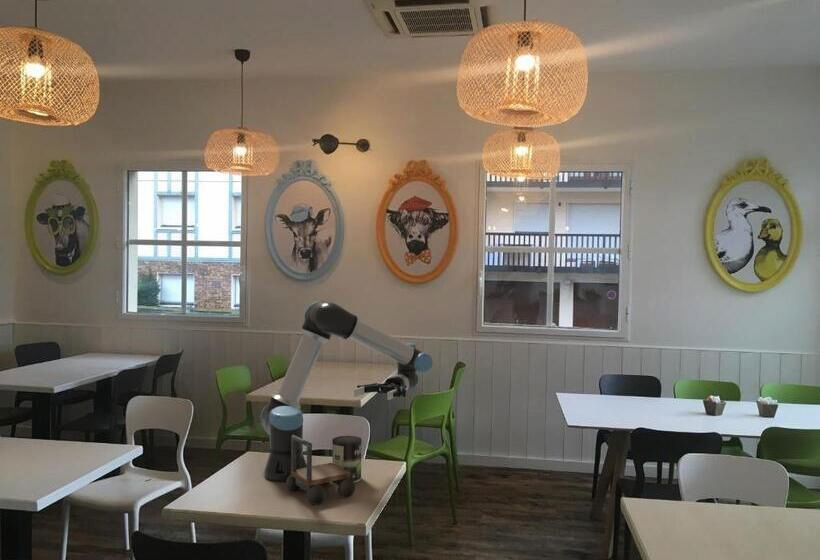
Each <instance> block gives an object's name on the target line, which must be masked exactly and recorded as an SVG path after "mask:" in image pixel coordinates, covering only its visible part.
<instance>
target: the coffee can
mask: <svg viewBox="0 0 820 560" xmlns="http://www.w3.org/2000/svg"><path fill="white" fill-rule="evenodd" d="M331 440H332V441H331V442H332V464H334V465H336V466H338V467H340V468H342V469H344V470H346V471H348V472H350V478H345V479H350V480H352V481H353V482H354V483H355V484H356V483H358V482H361V480H362V441H363V439H362V438H361V437H360V436H356V435H340V436H336V437H333V438H332V439H331Z"/></svg>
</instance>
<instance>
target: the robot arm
mask: <svg viewBox="0 0 820 560" xmlns="http://www.w3.org/2000/svg"><path fill="white" fill-rule="evenodd" d="M300 330H301V332H302V336H301V337H300V338H301V339H300V341H299V343H298V346H297V348H296V350H295V353H294V355H293V357H292V360H291V362H290V364H289V367H288V368H287V371H286V373H285V376H284V378H283V380H282V381H281V385H280V387H279V389H278V391H277V393H275V394H273V395H271V398H270V400H269V402H268V404H267V405H266V406H264V407H263V409H262V411H261V413H260V423H261V427H262V430H263V431H264V432H265V433H266V434H267V435H268V436H269V454H268V457H267V460H266V464H265V467H264V475H263V476H264V477H265V479H267V480H270V481H275V482H286V480H287V478H288V476H289V475H290V474H291V436H292V435H295V436H297V437H299V438H301V439H303V440H304V438H303V437H304V429H303V428H304V427H303V426H304V416H303V415H304V414H303V411H302V410H301V405H300V400H301V397H302V394H303V392H304V391H305V387H306V386H307V383H308V381H309V378H310V377H311V374H312V372H313V370H314V366H315V364H316V362H317V359H318V358H319V354H320V353H321V350H322V348H323V346H324V344H325V343H327V342H330V339H331V338H332V336H336V337H339V338H342V339H343V340H349V339H350V340H352V341H354V342H357V343H358V344H360V345H362V346H365V347H367V348H369V349H371V350H373V351H375V352H377V353H380V354H381V355H383V356H386V357H387V358H390V359H392V360H394V361H396V362H397V372H396V373H397V374H396V375H393V376H391V377H388V378H387V379H386V380H385V381H384V382H383V383H378V382H374V383H369V384H361V385H359V384H358V385H357V386H356V388H354V389H353V397H355V398H356V397H359V396H363V395H365V394H367V393H378V394H383V393H384V394H387V395H386V396H387V397H386V400H387V401H390V400H392V399H396V398H397V397H401V396H402V398H405V397H406V395H407V392H410V391H412V390H414V389H415V388H417V387H418V386H419V383H420V377H419V375H418V373H417V372H419V373H426V372H429V371H430V370H432V366H433V363H434V362H433V357H432V356H431V355H430V354H429V353H427V352H425V351H421V350H419V349H418V348H417V346H416V345H417V344H415V343H412V342H404V341H401V340H399V339H398V338H395V337H393V336H392V335H389V334H387V333H385V332H383V331H381V330H380V329H378V328H375V327H373V326H371V325H369V324H367V323H365V322H363V321H362V320H359V317H358V316H357V315H356V314H353V313H351V312H349V311H348V310H347V309H345V308H343V307H342V306H341V305H339V304H337V303H335V302H329V301H325V300H319V301H315V302H313V303H311V304H310V305H308V306H307V308H306V310H305V312H304V321H303V324H302V327H301V328H300ZM303 446H304V445H303V444H301V443H299V442H297V441H296V469H301V468H306V467H307V460H306V458H305V455H304V452H303V451H304V450H303V449H304V448H303Z"/></svg>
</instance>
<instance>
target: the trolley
mask: <svg viewBox="0 0 820 560" xmlns="http://www.w3.org/2000/svg"><path fill="white" fill-rule="evenodd" d="M296 441H297V442H299V443H301V444H303V446H305V447H306V464H307V467H306V468H301V469H296ZM312 460H313V443H312V442H310V441H308V440H305V439H304V438H303V439H301V438H299V437H297V436H295V435H292V436H291V474H290V475H289V476H288V478H287V480H286V481H285V485H286V488H288V489H289V490H290V491H292V492H297V491H300V489H302V490H304V491H305V492H306V499H307V501H308V502H309V503H311V504H312V505H316V504H317V505H319V504H322V502H323V501H324V499H325V497H326V491H325V488H324V487H322V486H321V485H323V486H326V485H328V484H330V483H333V484H334V485H337V492H338V494H339V496H342V497H344V498H346V497H347V498H349V497H351V496H352V495H353V494H354V492H355V490H356V483H354V482H353V481H352V480H350V479H345V478H350V472H348V471H346V470H344V469H342V468H340V467H338V466H336V465H334V464H333V462H327V463H323V464H318V465H313V463H312V462H313V461H312ZM325 484H326V485H325Z"/></svg>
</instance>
